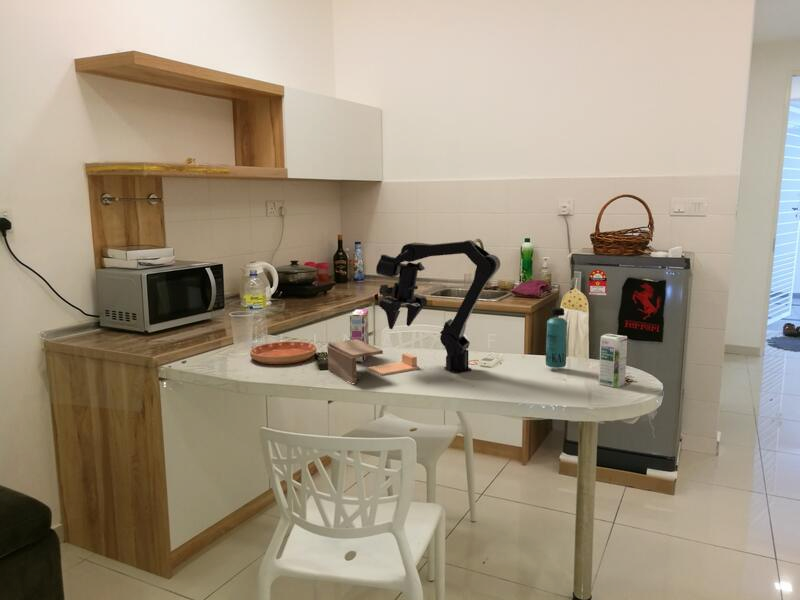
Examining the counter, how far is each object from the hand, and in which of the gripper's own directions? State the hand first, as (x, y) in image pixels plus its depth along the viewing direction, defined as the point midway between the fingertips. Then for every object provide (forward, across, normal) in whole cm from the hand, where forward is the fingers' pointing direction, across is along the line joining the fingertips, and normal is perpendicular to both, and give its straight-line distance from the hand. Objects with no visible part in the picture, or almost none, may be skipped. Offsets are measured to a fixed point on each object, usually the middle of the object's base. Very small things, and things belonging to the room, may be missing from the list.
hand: (399, 327), depth 206 cm
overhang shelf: (+14, +16, -2) cm, 22 cm away
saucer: (+21, +15, -36) cm, 45 cm away
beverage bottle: (+4, -24, +46) cm, 52 cm away
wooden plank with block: (+13, +4, +4) cm, 14 cm away
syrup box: (0, -20, +65) cm, 68 cm away
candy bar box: (+16, +1, -14) cm, 21 cm away
